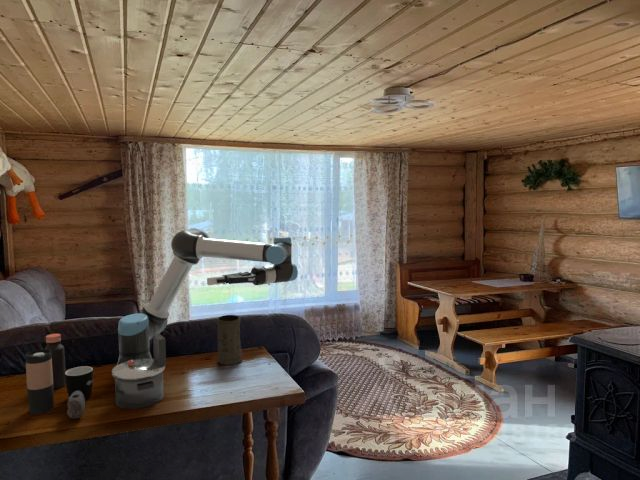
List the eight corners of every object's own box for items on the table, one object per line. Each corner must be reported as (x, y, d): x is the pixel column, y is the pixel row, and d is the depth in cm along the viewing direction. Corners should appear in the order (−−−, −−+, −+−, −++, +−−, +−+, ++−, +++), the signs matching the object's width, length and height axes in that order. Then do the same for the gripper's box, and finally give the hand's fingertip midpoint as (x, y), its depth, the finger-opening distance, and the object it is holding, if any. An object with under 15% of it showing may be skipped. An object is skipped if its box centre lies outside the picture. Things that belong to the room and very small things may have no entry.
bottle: (57, 381, 178) (54, 332, 176) (70, 383, 176) (67, 333, 174) (41, 388, 172) (38, 337, 170) (54, 390, 169) (51, 339, 168)
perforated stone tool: (70, 404, 158) (69, 385, 157) (87, 402, 160) (86, 383, 160) (65, 424, 144) (64, 403, 144) (84, 420, 147) (83, 400, 146)
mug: (89, 402, 160) (87, 374, 159) (62, 404, 158) (60, 376, 157) (100, 388, 171) (99, 362, 171) (75, 389, 170) (73, 363, 169)
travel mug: (36, 404, 158) (32, 349, 156) (58, 404, 158) (55, 348, 157) (23, 415, 150) (20, 357, 148) (47, 414, 151) (44, 356, 149)
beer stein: (239, 365, 195) (238, 320, 193) (214, 365, 195) (213, 320, 193) (245, 353, 210) (245, 311, 208) (223, 353, 210) (222, 311, 208)
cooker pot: (170, 403, 159) (169, 375, 158) (121, 415, 150) (120, 386, 149) (155, 384, 175) (154, 359, 174) (111, 394, 166) (109, 367, 165)
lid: (170, 372, 159) (169, 342, 158) (117, 384, 149) (115, 351, 148) (157, 358, 174) (156, 330, 173) (107, 368, 164) (106, 338, 163)
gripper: (270, 286, 182) (214, 293, 169) (255, 282, 193) (202, 288, 179) (269, 268, 181) (213, 274, 168) (255, 264, 192) (201, 269, 179)
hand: (207, 281), depth 174 cm, fingers closed
